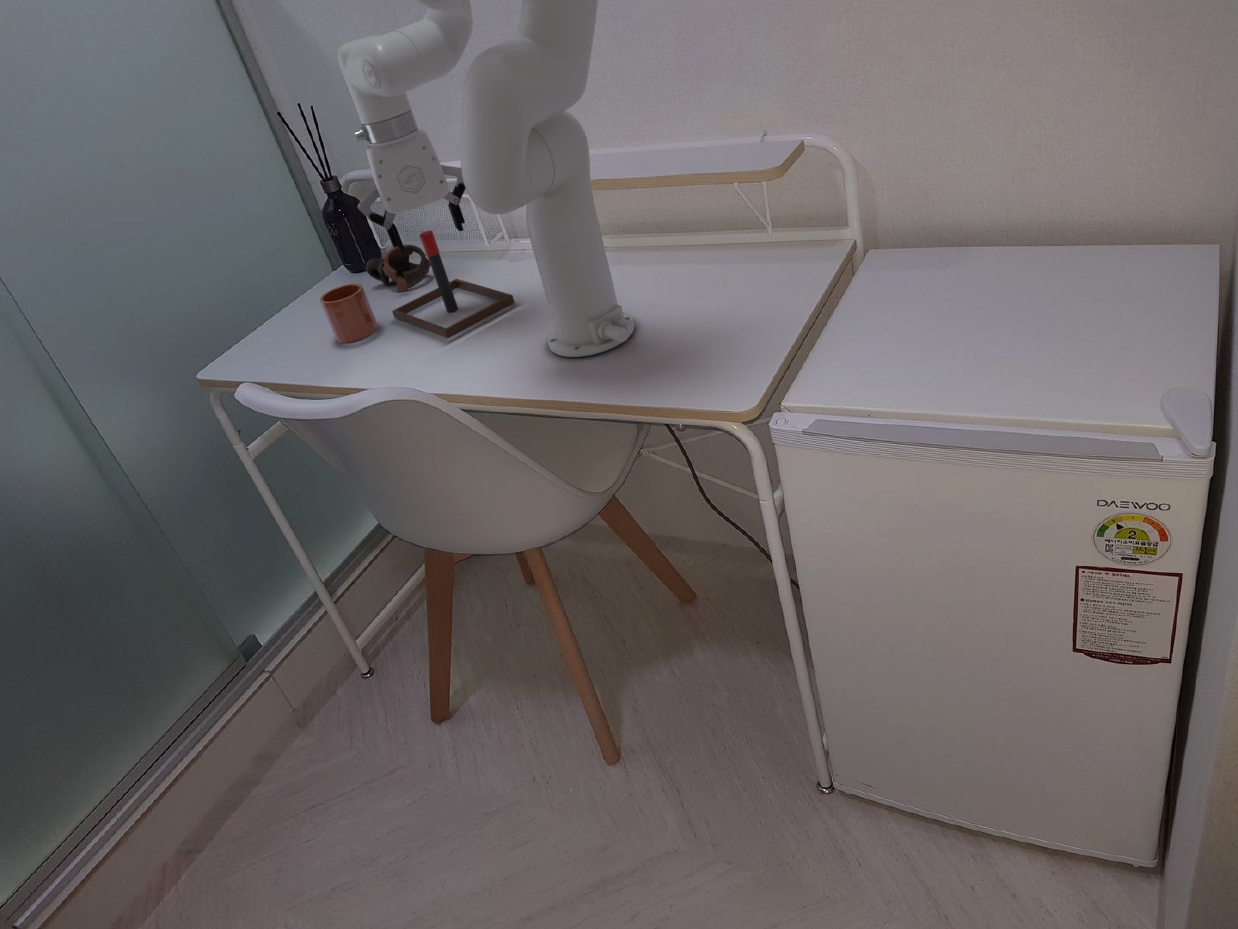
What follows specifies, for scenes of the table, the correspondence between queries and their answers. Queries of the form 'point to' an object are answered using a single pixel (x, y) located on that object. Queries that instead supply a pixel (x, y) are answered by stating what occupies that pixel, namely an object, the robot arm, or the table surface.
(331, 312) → the pen cup
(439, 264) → the marker
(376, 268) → the pottery mug
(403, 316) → the tray
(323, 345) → the table surface
